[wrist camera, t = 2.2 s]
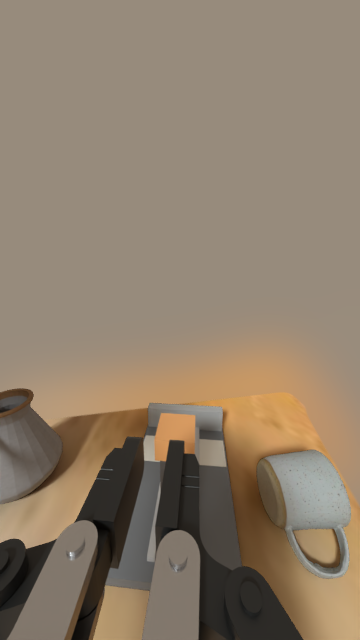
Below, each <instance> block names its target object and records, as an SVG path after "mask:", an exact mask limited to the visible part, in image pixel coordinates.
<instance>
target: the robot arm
mask: <svg viewBox="0 0 360 640" xmlns="http://www.w3.org/2000/svg"><path fill="white" fill-rule="evenodd" d="M184 448H185V441H183V440H169V446H168V452H167V458H166V464H165V470H164V476H163V482H162V488H161V494H160V500H159V506H158V512H157V518H156V524H155V536H156V560H155V566H154V571H153V577H152V583H151V589H150V594H149V600H148V606H147V612H146V618H145V623H144V629H143V635H142V640H303V638H302V637H301V635H300V634H299V632H298V630H297V629H296V627H295V626H294V624H293V622H292V621H291V619H290V618H289V616H288V615H287V613H286V611H285V610H284V608H283V607H282V605H281V603H280V602H279V600H278V599H277V597H276V595H275V594H274V592H273V591H272V589H271V587H270V586H269V584H268V583H267V581H266V580H265V579H264V578H263V576H262V575H261V574H259V573H258V572H257V571H256V570H254V569H252V568H250V567H245V566H241V567H237V568H236V569H234V570H233V571H232V570H231V569H229V568H227V567H225V566H224V565H222V564H220V563H219V562H217V561H216V560H214V559H213V558H212V557H211V556H210V555H209V554H208V553H207V551H206V549H205V548H204V546H203V544H202V541H201V537H200V511H199V462H198V460H197V458H196V456H195V454H188V453H184ZM143 472H144V445H143V438H141V437H127V438H126V440H125V443H124V445H123V448H114V449H113V451H112V452H111V453H110V454H109V455H108V456H107V457H106V459H105V461H104V463H103V465H102V467H101V470H100V471H99V473H98V475H97V478H96V480H95V482H94V484H93V486H92V488H91V490H90V492H89V494H88V496H87V498H86V500H85V503H84V505H83V507H82V509H81V511H80V513H79V515H78V517H77V519H76V521H75V522H74V523H73V524H71V525H70V526H68V527H67V528H66V529H65V530H64V531H63V532H62V533H61V534H60V536H59V537H58V538H57V539H56V540H54V541H51V542H49V543H45V544H42V545H38V546H35V547H32V548H28V549H26V548H25V545H24V543H23V542H22V541H21V540H19V539H9V540H6V541H4V542H2V543H0V640H93V637H94V633H95V629H96V626H97V622H98V618H99V614H100V610H101V606H102V603H103V598H104V591H105V588H104V587H105V584H106V580H107V577H108V573H109V570H110V568H115V569H118V568H119V564H120V561H121V557H122V553H123V549H124V545H125V542H126V538H127V534H128V530H129V526H130V523H131V519H132V515H133V511H134V508H135V504H136V500H137V496H138V492H139V489H140V485H141V481H142V477H143Z"/></svg>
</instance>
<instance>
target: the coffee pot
mask: <svg viewBox="0 0 360 640" xmlns="http://www.w3.org/2000/svg"><path fill="white" fill-rule="evenodd" d="M32 399H33V392H32V391H31V390H28V389H12V390H7V391H4V392H0V504H4V503H9V502H12V501H15V500H18V499H20V498H22V497H24V496H26V495H28V494H29V493H31V492H32V491H33V490H35V489H36V488H37V487H39V485H41V484H42V483H43V482H44V481H45V479H46V478H47V477H48V476H49V475H50V474H51V473H52V472H53V470H54V469H55V467H56V466H57V464H58V462H59V459H60V456H61V454H62V447H63V443H62V441H61V439H60V436H59V435H58V434H57V433H56V432H55V431H54V430H53V429H52V428H51V427H50V426H49V425H48V424H47V423H46V422H45V421H44V420H43V419H42V418H41V417H40V416H39V415H38V414H37V413H36V412H35V411H34V410H33V409H32V408H31V407H30V402H31V401H32Z"/></svg>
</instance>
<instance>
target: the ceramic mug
mask: <svg viewBox="0 0 360 640" xmlns="http://www.w3.org/2000/svg"><path fill="white" fill-rule="evenodd" d="M257 482H258V487H259V492H260V496H261V499H262V502H263V505H264V507H265V510H266V512H267V514H268V516H269V518H270V519H271V520H272V522H273V523H274V524H275V525H276V526H278V527H280V528H283V529H285V530H286V533H287V537H288V540H289V543H290V545H291V547H292V549H293V551H294V553H295V555H296V556H297V558H298V559H299V561H300V562H301V563H302V565H303V566H304V567H305V568H306V569H307V570H309V571H310V572H311V573H313V574H315V575H316V576H318V577H321V578H327V579H331V578H339V577H342V576H343V575H344V574H345V573H346V571H347V570H348V566H349V548H348V543H347V540H346V536H345V533H344V530H343V528H344V527H346V526H347V525H348V524H349V522H350V519H351V508H350V502H349V498H348V495H347V492H346V489H345V486H344V484H343V482H342V480H341V478H340V476H339V474H338V472H337V471H336V469H335V468H334V466H333V465H332V463H331V462H330V461H329V460H328V459H327V458H326V457H325V456H324V455H323V454H322V453H321V452H319V451H316V450H307V451H300V452H293V453H287V454H279V455H272V456H268V457H265V458H263V459H261V460H260V461H259V463H258V465H257ZM302 529H334V530H335V532H336V535H337V538H338V542H339V547H340V563H339V566H337V567H336V568H326V567H321V566H320V565H318V564H317V563H314V564H313V563H312V562H311V561H309V560H308V559H307V558H306V557H305V555H304V554H303V552H302V551H301V550H300V547H299V545H298V543H297V541H296V539H295V536H294V533H293V530H302Z"/></svg>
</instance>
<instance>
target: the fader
mask: <svg viewBox="0 0 360 640" xmlns="http://www.w3.org/2000/svg"><path fill="white" fill-rule="evenodd" d="M169 440H183V441H185V448H184V453H188V454H195V415H187V414H171V413H161V415H160V419H159V423H158V427H157V431H156V435H155V439H154V446H155V460H156V461H160V488H162V482H163V476H164V470H165V464H166V458H167V452H168V446H169Z"/></svg>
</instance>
